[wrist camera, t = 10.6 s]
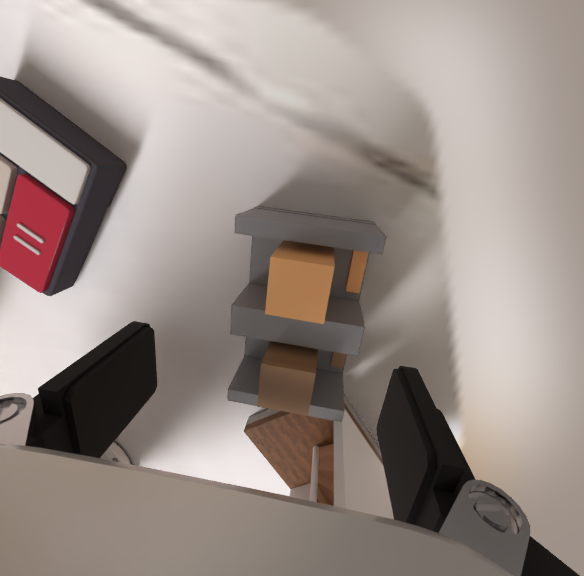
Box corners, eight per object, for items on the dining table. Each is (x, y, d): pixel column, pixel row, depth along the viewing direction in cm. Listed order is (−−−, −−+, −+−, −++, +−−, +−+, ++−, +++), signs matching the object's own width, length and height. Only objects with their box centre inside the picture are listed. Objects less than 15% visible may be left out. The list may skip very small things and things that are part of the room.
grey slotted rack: (339, 377, 30) (341, 422, 24) (246, 360, 31) (227, 400, 25) (374, 222, 24) (386, 235, 18) (257, 206, 25) (235, 214, 19)
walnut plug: (313, 362, 28) (308, 416, 22) (274, 354, 29) (257, 406, 22) (319, 326, 27) (315, 373, 20) (278, 319, 27) (261, 363, 21)
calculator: (-66, 229, 26) (-47, 61, 20) (-13, 221, 30) (16, 78, 24) (42, 302, 27) (90, 165, 21) (80, 284, 31) (130, 164, 25)
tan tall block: (333, 243, 24) (334, 266, 18) (326, 287, 25) (324, 324, 19) (286, 236, 24) (270, 256, 18) (281, 280, 26) (264, 314, 19)
